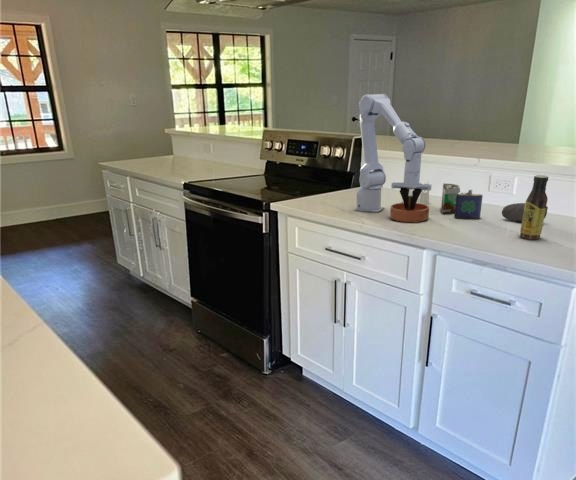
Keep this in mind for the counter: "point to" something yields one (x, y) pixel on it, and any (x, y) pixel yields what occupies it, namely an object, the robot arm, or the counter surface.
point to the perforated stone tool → (515, 212)
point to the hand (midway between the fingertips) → (409, 208)
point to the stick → (409, 203)
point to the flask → (468, 205)
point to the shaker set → (421, 195)
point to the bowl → (409, 213)
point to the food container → (449, 198)
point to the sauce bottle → (535, 209)
